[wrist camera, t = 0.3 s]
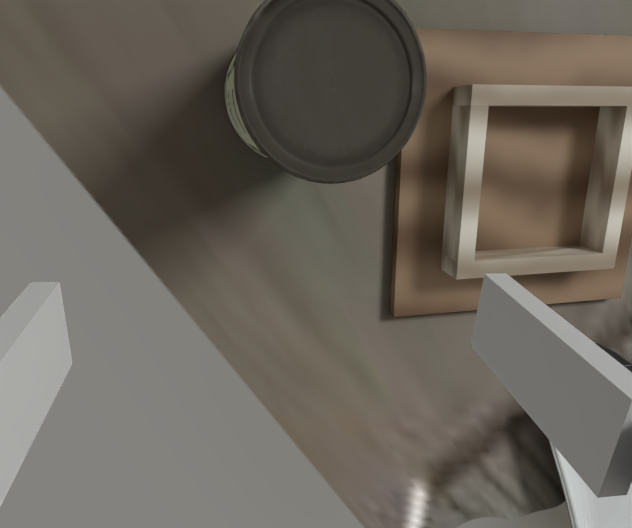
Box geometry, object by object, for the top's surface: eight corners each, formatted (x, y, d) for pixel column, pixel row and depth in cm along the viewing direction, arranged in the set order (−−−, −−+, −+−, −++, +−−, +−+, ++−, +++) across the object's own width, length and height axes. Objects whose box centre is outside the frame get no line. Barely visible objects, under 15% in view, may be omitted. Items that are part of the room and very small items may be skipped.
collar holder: (402, 29, 39) (423, 20, 36) (658, 39, 44) (700, 31, 40) (389, 312, 46) (406, 330, 42) (612, 294, 51) (645, 308, 47)
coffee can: (379, 102, 41) (463, 95, 27) (286, 188, 41) (324, 222, 28) (296, -8, 37) (346, -78, 24) (194, 87, 37) (189, 71, 24)
